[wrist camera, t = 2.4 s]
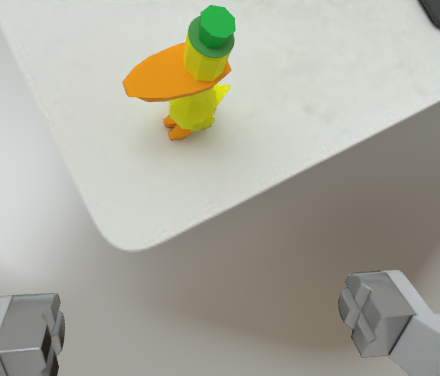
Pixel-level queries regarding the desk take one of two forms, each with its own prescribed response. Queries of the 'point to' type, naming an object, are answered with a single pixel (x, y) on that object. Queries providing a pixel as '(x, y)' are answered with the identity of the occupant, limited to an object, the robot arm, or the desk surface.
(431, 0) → the cell phone
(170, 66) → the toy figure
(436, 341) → the robot arm
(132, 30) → the desk surface
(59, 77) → the desk surface
